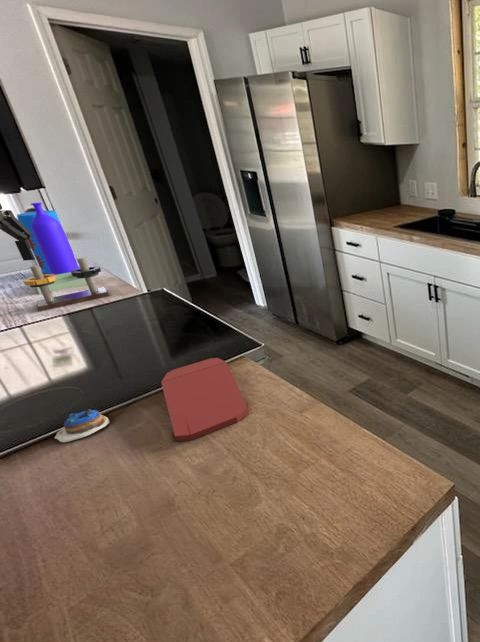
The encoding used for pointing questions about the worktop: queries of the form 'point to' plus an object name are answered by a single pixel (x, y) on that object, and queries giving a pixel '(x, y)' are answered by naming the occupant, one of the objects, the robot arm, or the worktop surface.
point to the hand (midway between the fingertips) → (10, 266)
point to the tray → (65, 282)
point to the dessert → (81, 425)
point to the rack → (68, 299)
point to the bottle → (52, 242)
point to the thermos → (26, 221)
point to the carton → (202, 398)
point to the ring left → (40, 280)
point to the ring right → (84, 273)
